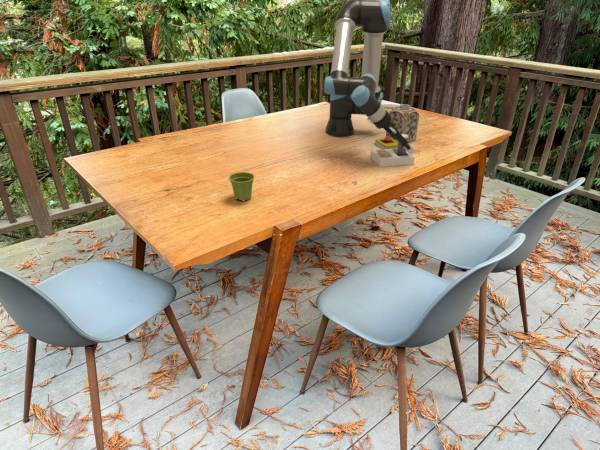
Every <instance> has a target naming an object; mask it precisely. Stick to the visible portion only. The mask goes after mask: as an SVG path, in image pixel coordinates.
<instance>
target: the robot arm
mask: <svg viewBox="0 0 600 450" xmlns="http://www.w3.org/2000/svg"><path fill="white" fill-rule="evenodd" d="M357 27H361V32H362V34H363V36H364V37H363V39H364V40H363V50H362V51H363V53H362V66H361V76H360V77H349V75H348V74H349V67H350V58H351V51H352V42H353V34H354V31H355V30H356V28H357ZM390 27H391V1H390V0H348V1H346V3H344V4H343V5H342V6H341V8H340V9H339V11H338V12H337V15H336V17H335V21H334V29H335V37H334V45H333V46H334V47H333V52H332V61H331V68H330V69H331V70H330V75H329V76H325V77H324V86H323V91H324V94H326V95H330V96H329V97H330V98H329V101H330V102H329V116H328V117H329V118H328V120H327V124H326V127H325V133H326V134H327V135H329V136H331V137H338V138H339V137H341V138H342V137H344V138H345V137H351V136H352V135H354V133H355V132H354V129H355V128H354V125H353V120H352V115H360V116H361V115H362V116H366V117H367V120H368V121H369V120H370V121H371V123H373V125H374V126H375V127H376V128H377V129H379V130H380V129H383V130H384V131H385V132H386V131H387V132H388V133H389V134H390V135H391V136H392V138H394V139H395V140H396V141H397V143H398V141H399V142H400V144H401V145H402V146H401V147H403V148H404V149H405V150H406V151H407V152H408V153H409V154H410V155H413V154H414V153H415V152H416V150H415V149H414V148H413V147H412V146H411V144H410V142H409V143H408V141H406V139H405V138H404V137H403V136H402V135H401V134H400V133H399V132H398V130H397V129H396V128H395V127H394V125H393V124H392V123H391V122H390V121H391V115H390V114H389V113H388V112H387V111H386V109H385V108H384V107H383V106H382V105H381V104H382V102H383V96H384V93H383V92H382V90H381V87H380V86H379V79H380V78H379V77H380V68H381V59H382V50H383V39H384V37H383V36H384V35H385V34H386V33H387V31H388V29H389V28H390Z"/></svg>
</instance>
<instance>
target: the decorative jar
mask: <svg viewBox="0 0 600 450" xmlns="http://www.w3.org/2000/svg"><path fill="white" fill-rule="evenodd" d="M400 104H401V105H400ZM400 104H399V105H400V107H395V108H393V109H392V110H391V111H390V112H389V114H390V115H391V121H390V122H391V123H392V124H393V125H394V127H395V128H396V129H397V130H398V132H399V133H400V134H407V135H408V143H409V144H410V143H411V142H415V141H416V138H417V133H418V128H419V122H420V121H419V120H420V113H419V112H418V110H416V109H415V108H414V107H411V106H410V104H407V103H406V104H405V103H400ZM384 138H392V136H391V135H390V134H389V133H388V132H387V131H386V130H385V136H384ZM392 139H394V138H392ZM394 140H395V139H394Z"/></svg>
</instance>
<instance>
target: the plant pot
mask: <svg viewBox="0 0 600 450" xmlns="http://www.w3.org/2000/svg"><path fill="white" fill-rule="evenodd" d="M255 177H256V176H255V175H254V174H253V173H252V172H247V171H239V172H234V173H232V174H231V173H230V175H229V176H228V180H229V181H230V184H231V187H232V190H233V194H234V195H233V196H234V199H235V198H236V199H235V200H237V199H239V200H247V199H248V200H251V199H252V195H253V194H252V190H253V183H254V180H255ZM250 198H251V199H250ZM248 200H247V201H248Z"/></svg>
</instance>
